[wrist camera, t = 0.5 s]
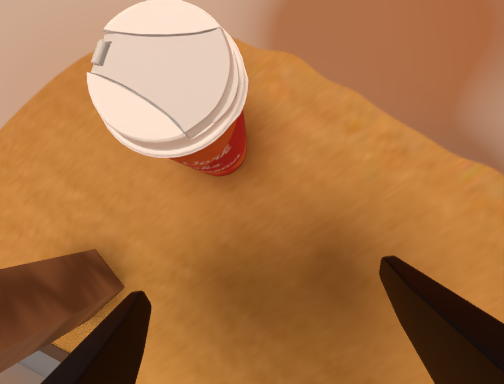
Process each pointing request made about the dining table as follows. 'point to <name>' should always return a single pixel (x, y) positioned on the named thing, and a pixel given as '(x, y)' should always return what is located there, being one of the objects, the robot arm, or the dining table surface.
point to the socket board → (34, 366)
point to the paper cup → (172, 86)
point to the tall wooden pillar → (50, 301)
